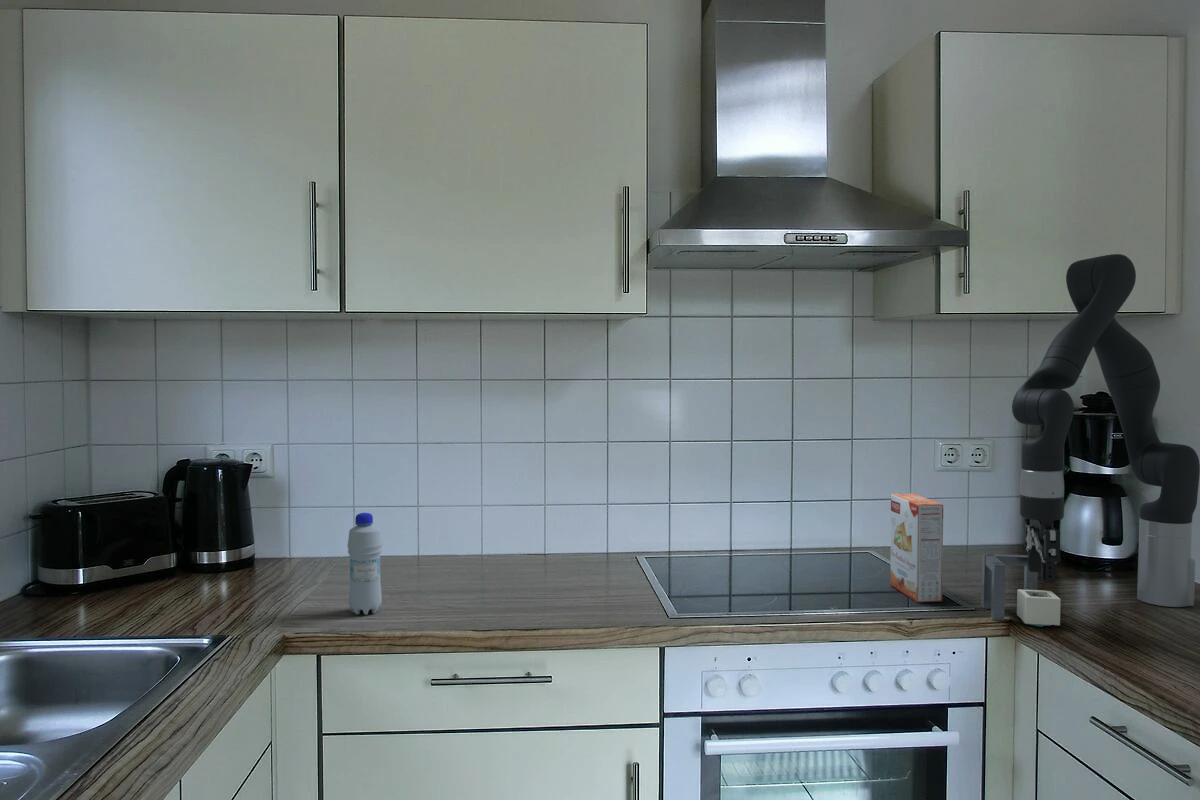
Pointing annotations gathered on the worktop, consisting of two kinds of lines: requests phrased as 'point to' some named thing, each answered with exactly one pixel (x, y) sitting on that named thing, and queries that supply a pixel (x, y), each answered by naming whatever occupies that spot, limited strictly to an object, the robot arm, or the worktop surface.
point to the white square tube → (1038, 607)
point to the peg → (1037, 624)
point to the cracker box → (916, 547)
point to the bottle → (364, 565)
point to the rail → (1001, 581)
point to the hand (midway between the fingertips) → (1041, 576)
